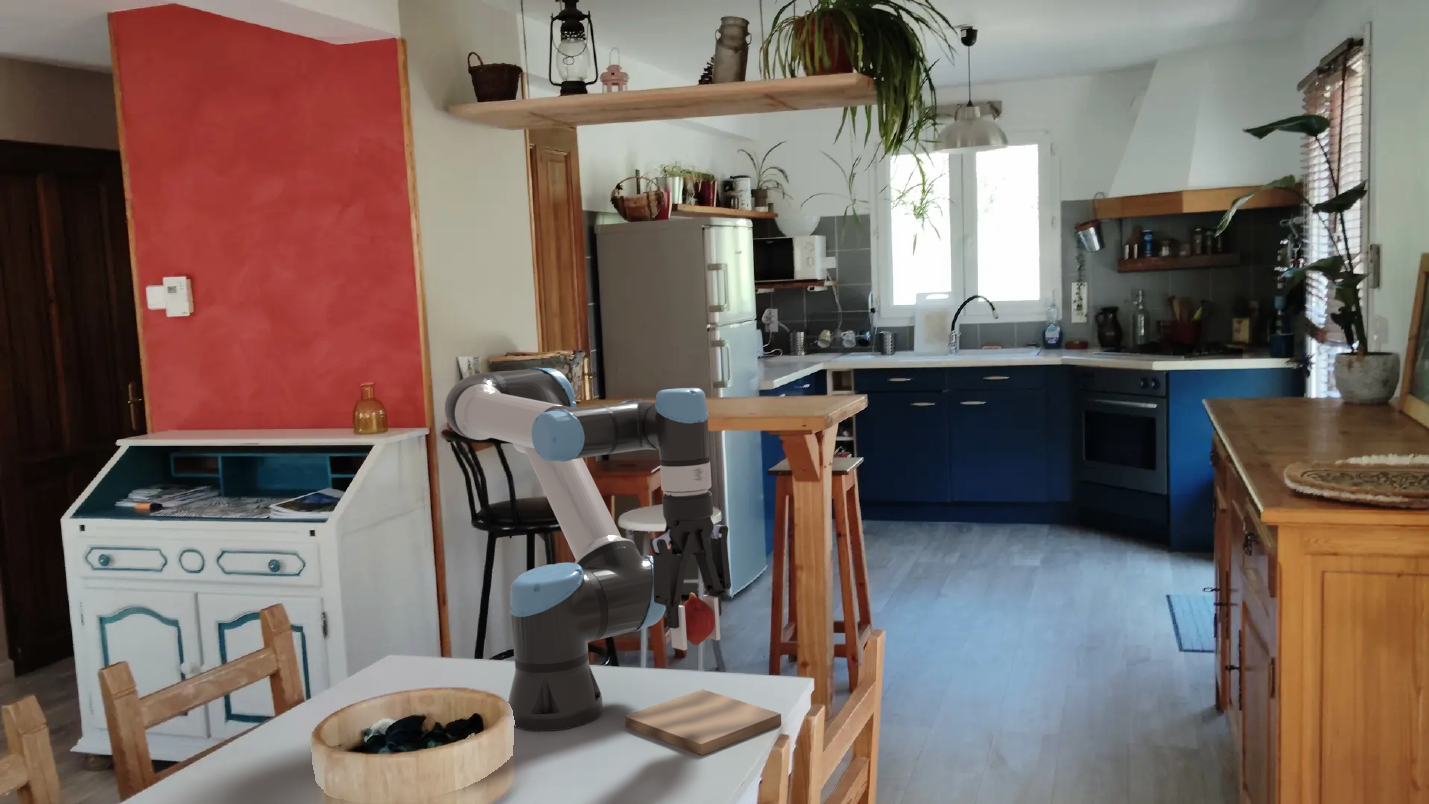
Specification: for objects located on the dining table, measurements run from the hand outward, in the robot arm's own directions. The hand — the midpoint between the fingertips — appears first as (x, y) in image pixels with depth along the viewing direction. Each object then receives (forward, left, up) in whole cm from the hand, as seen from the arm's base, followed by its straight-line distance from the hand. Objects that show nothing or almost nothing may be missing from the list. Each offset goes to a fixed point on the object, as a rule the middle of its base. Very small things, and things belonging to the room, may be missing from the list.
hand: (696, 642), depth 175 cm
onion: (0, 0, -1) cm, 1 cm away
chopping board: (0, 0, -13) cm, 13 cm away
